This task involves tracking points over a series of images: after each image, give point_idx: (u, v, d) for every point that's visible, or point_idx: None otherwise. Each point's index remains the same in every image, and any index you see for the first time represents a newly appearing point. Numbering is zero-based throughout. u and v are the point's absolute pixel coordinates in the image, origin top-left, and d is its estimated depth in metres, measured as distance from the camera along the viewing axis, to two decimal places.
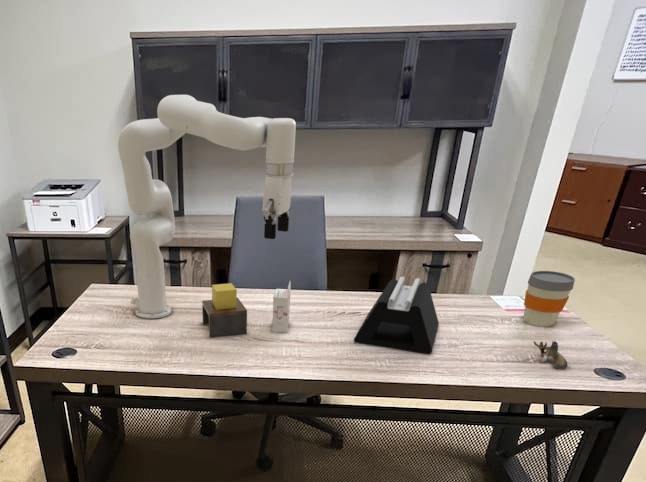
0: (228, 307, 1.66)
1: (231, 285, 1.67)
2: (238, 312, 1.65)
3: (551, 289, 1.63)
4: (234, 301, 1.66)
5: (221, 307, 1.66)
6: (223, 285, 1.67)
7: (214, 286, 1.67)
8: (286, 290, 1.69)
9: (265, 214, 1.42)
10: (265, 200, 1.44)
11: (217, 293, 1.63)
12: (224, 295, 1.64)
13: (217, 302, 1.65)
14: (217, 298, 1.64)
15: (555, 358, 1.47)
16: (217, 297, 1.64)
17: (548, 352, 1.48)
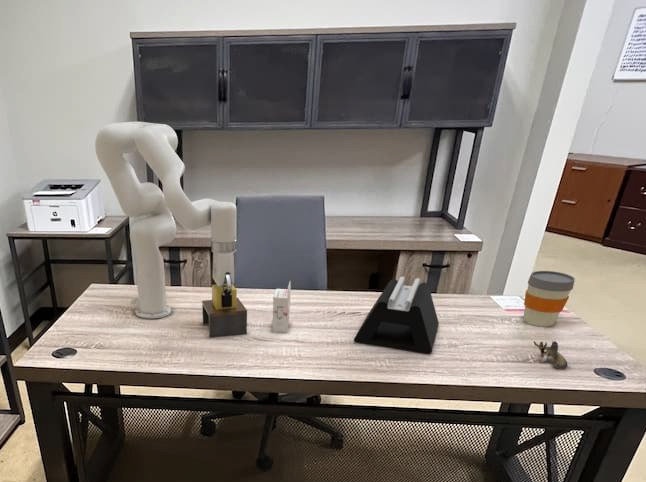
0: (228, 307, 1.66)
1: None
2: (238, 312, 1.65)
3: (551, 289, 1.63)
4: (234, 301, 1.66)
5: (221, 307, 1.66)
6: None
7: (214, 286, 1.67)
8: (286, 290, 1.69)
9: (228, 289, 1.59)
10: (222, 274, 1.58)
11: (217, 293, 1.63)
12: None
13: (217, 302, 1.65)
14: (217, 298, 1.64)
15: (555, 358, 1.47)
16: (217, 297, 1.64)
17: (548, 352, 1.48)
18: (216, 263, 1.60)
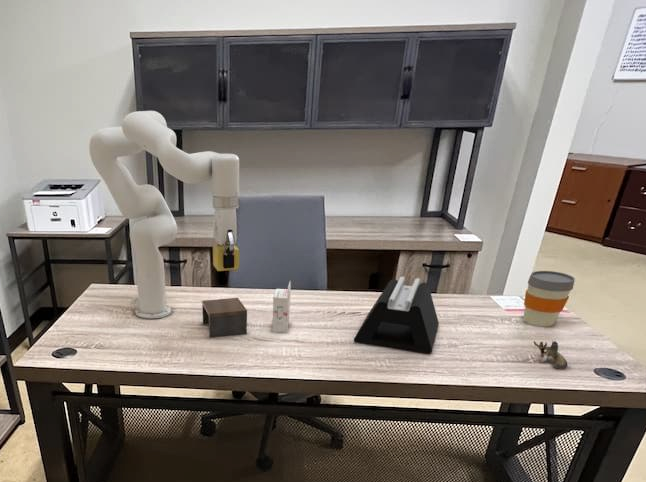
0: (230, 268, 1.57)
1: None
2: (238, 312, 1.65)
3: (551, 289, 1.63)
4: (236, 262, 1.57)
5: (223, 268, 1.57)
6: None
7: (215, 246, 1.58)
8: (286, 290, 1.69)
9: (231, 248, 1.50)
10: (224, 232, 1.50)
11: (219, 253, 1.54)
12: None
13: (219, 263, 1.56)
14: (219, 258, 1.55)
15: (555, 358, 1.47)
16: (219, 257, 1.55)
17: (548, 352, 1.48)
18: (218, 220, 1.51)
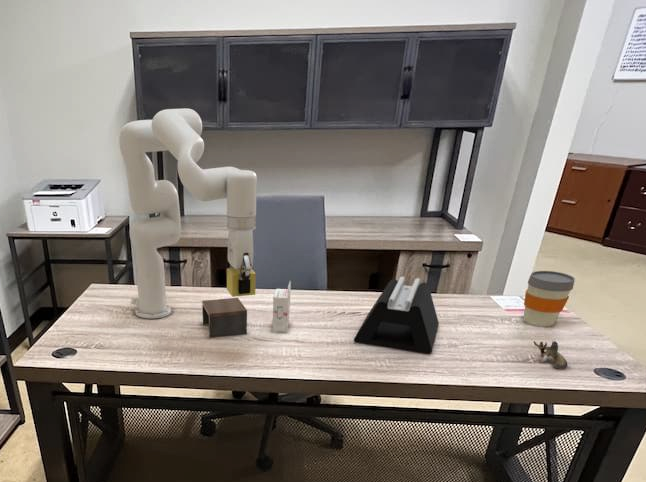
0: (246, 294, 1.44)
1: None
2: (238, 312, 1.65)
3: (551, 289, 1.63)
4: (253, 287, 1.44)
5: (238, 294, 1.44)
6: None
7: (230, 270, 1.45)
8: (286, 290, 1.69)
9: (247, 272, 1.37)
10: (239, 255, 1.37)
11: (233, 277, 1.41)
12: None
13: (233, 288, 1.43)
14: (233, 283, 1.42)
15: (555, 358, 1.47)
16: (233, 282, 1.42)
17: (548, 352, 1.48)
18: (232, 242, 1.38)
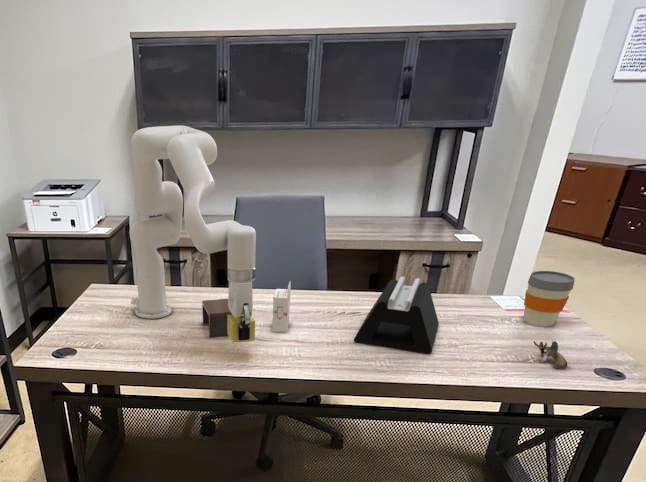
0: (245, 340, 1.51)
1: None
2: None
3: (551, 289, 1.63)
4: (252, 333, 1.50)
5: (238, 340, 1.50)
6: None
7: (230, 317, 1.51)
8: (286, 290, 1.69)
9: (247, 322, 1.44)
10: (239, 305, 1.43)
11: (234, 325, 1.48)
12: None
13: (234, 335, 1.49)
14: (234, 330, 1.48)
15: (555, 358, 1.47)
16: (234, 329, 1.48)
17: (548, 352, 1.48)
18: (233, 293, 1.44)
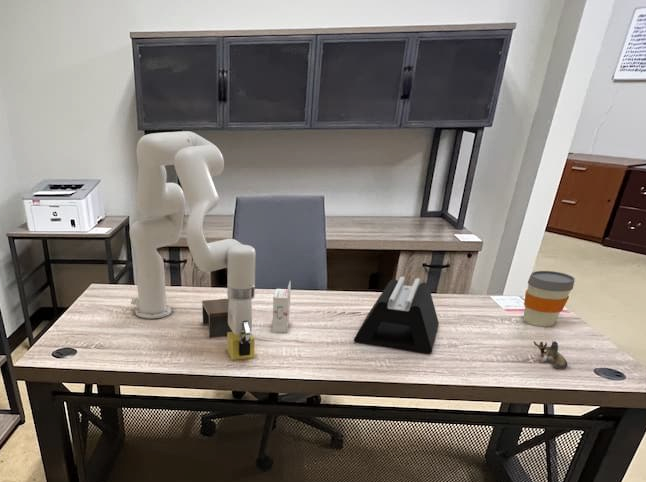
0: (245, 357, 1.54)
1: None
2: None
3: (551, 289, 1.63)
4: (252, 351, 1.53)
5: (238, 357, 1.53)
6: None
7: (230, 334, 1.54)
8: (286, 290, 1.69)
9: (247, 336, 1.45)
10: (239, 323, 1.46)
11: (234, 343, 1.50)
12: None
13: (233, 352, 1.52)
14: (233, 348, 1.51)
15: (555, 358, 1.47)
16: (233, 347, 1.51)
17: (548, 352, 1.48)
18: (232, 310, 1.47)
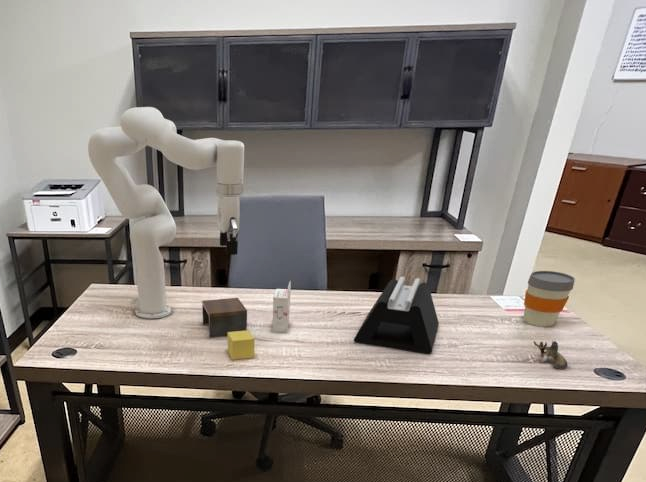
0: (245, 357, 1.54)
1: (248, 333, 1.55)
2: (238, 312, 1.65)
3: (551, 289, 1.63)
4: (252, 351, 1.53)
5: (238, 357, 1.53)
6: (239, 333, 1.55)
7: (230, 334, 1.54)
8: (286, 290, 1.69)
9: (234, 232, 1.49)
10: (227, 219, 1.49)
11: (234, 343, 1.50)
12: (241, 345, 1.51)
13: (233, 352, 1.52)
14: (233, 348, 1.51)
15: (555, 358, 1.47)
16: (233, 347, 1.51)
17: (548, 352, 1.48)
18: (221, 207, 1.50)
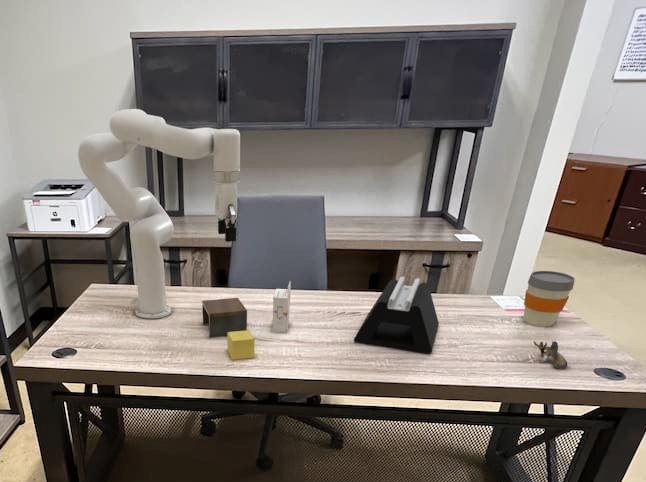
0: (245, 357, 1.54)
1: (248, 333, 1.55)
2: (238, 312, 1.65)
3: (551, 289, 1.63)
4: (252, 351, 1.53)
5: (238, 357, 1.53)
6: (239, 333, 1.55)
7: (230, 334, 1.54)
8: (286, 290, 1.69)
9: (232, 219, 1.51)
10: (225, 206, 1.52)
11: (234, 343, 1.50)
12: (241, 345, 1.51)
13: (233, 352, 1.52)
14: (233, 348, 1.51)
15: (555, 358, 1.47)
16: (233, 347, 1.51)
17: (548, 352, 1.48)
18: (219, 195, 1.53)
